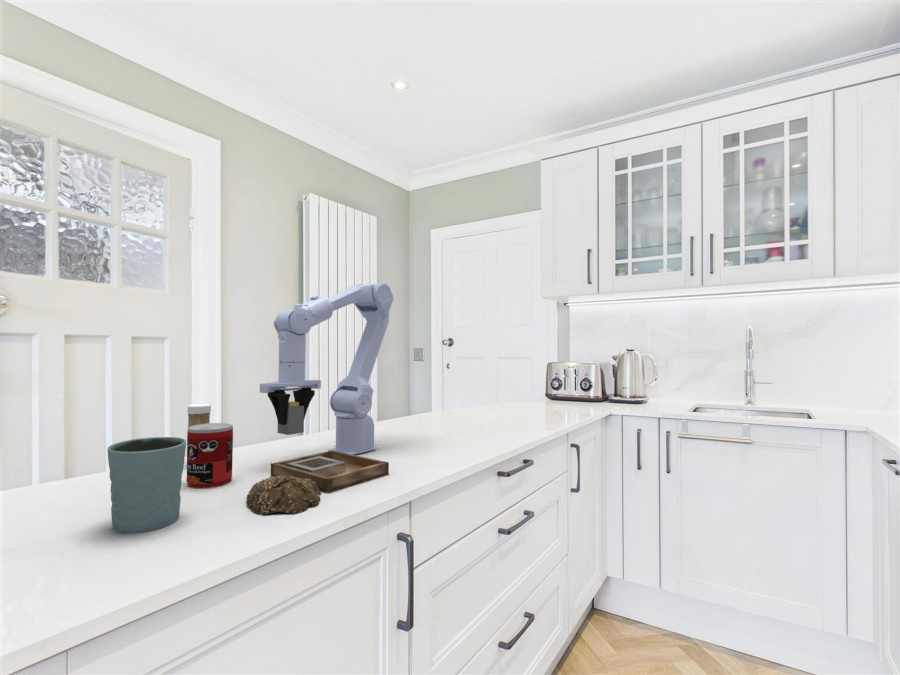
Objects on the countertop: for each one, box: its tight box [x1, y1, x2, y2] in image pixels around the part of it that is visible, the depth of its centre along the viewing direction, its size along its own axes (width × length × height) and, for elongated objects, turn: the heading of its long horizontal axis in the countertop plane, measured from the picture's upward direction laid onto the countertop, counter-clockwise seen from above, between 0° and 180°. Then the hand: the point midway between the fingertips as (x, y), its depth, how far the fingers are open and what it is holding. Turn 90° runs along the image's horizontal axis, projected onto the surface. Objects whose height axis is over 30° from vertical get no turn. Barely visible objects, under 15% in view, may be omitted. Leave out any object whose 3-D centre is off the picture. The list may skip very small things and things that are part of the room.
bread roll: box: [245, 475, 322, 516], centre depth 82 cm, size 13×12×5 cm
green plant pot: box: [106, 436, 187, 534], centre depth 72 cm, size 10×10×12 cm
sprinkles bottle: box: [187, 403, 212, 428], centre depth 105 cm, size 5×5×14 cm
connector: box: [277, 400, 305, 436], centre depth 106 cm, size 4×4×7 cm
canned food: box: [186, 422, 234, 489], centre depth 92 cm, size 8×8×11 cm
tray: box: [270, 450, 390, 494], centre depth 98 cm, size 16×18×2 cm
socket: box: [287, 456, 346, 477], centre depth 98 cm, size 8×8×2 cm
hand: (291, 422), depth 106 cm, fingers closed on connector, 4 cm apart
